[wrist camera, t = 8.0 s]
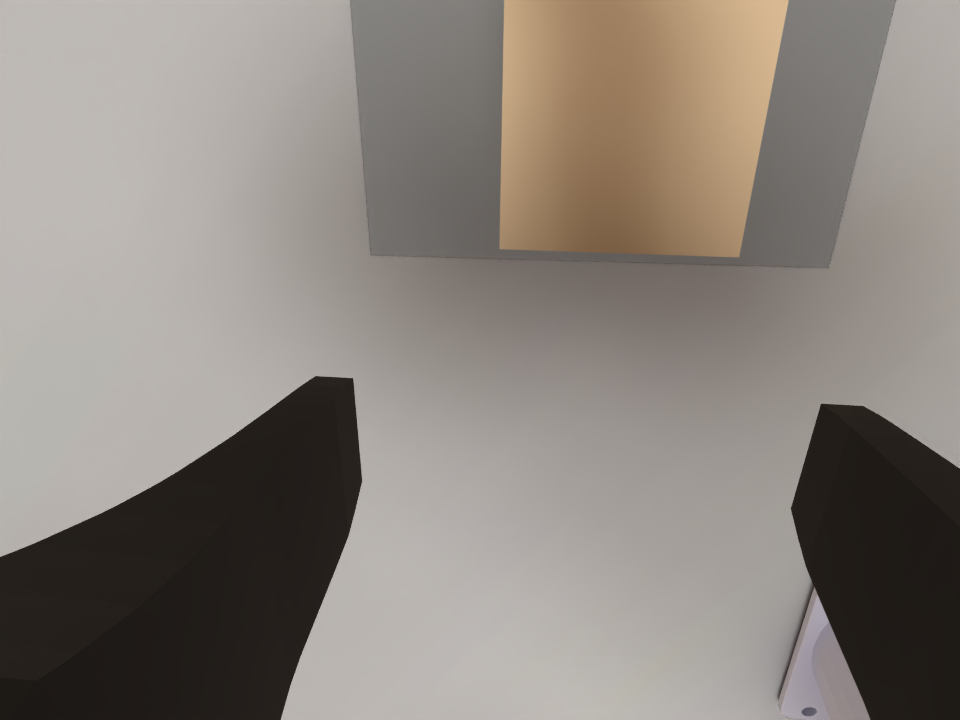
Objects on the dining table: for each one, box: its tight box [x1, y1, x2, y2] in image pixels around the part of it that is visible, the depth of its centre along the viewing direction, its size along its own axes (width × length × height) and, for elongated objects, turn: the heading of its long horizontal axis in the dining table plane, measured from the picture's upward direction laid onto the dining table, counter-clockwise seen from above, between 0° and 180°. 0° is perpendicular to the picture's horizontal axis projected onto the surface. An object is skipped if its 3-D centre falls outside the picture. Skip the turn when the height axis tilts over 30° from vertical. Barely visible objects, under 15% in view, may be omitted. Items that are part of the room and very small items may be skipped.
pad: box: [350, 0, 896, 268], centre depth 17 cm, size 12×9×1 cm
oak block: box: [499, 0, 789, 257], centre depth 15 cm, size 4×4×5 cm
